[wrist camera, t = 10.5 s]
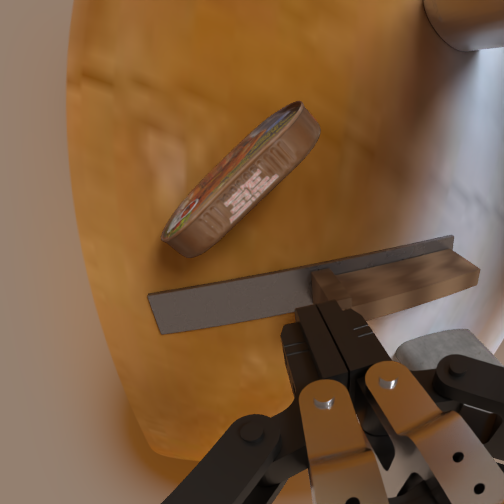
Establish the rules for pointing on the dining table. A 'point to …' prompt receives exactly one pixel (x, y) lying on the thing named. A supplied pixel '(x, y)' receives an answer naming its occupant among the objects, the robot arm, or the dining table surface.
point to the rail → (266, 290)
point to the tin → (242, 180)
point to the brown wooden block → (396, 283)
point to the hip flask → (443, 350)
